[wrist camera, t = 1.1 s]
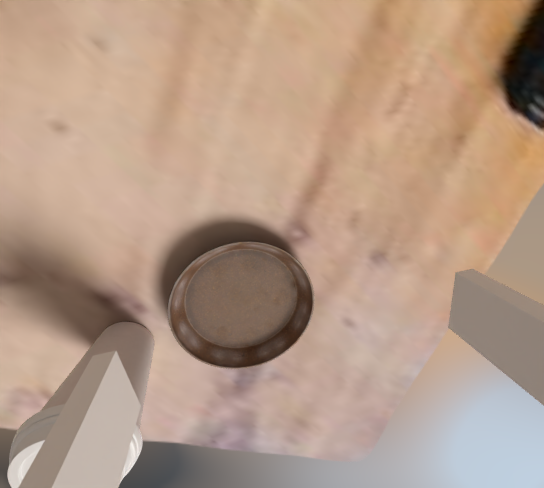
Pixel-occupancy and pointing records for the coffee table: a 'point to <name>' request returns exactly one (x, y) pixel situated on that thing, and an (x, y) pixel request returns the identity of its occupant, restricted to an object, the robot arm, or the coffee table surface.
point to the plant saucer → (241, 305)
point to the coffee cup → (31, 435)
